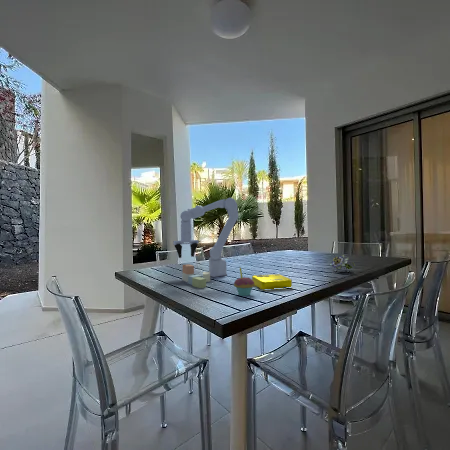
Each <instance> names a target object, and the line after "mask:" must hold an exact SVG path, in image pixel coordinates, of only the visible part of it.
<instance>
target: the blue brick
mask: <svg viewBox="0 0 450 450" xmlns="http://www.w3.org/2000/svg"><path fill="white" fill-rule="evenodd" d="M195 277H201V278H203V274H194V275H192V276H188V282H187V283H188V285H190V286H192V278H195Z"/></svg>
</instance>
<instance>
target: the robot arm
mask: <svg viewBox="0 0 450 450" xmlns="http://www.w3.org/2000/svg"><path fill="white" fill-rule="evenodd" d="M218 208H220V209H225V210H226V211H227V215H228V219H227V220H226V222H225V224H224V226H223V228H222V230H221V232H220V233H219V236H218V237H217V240H216V242H215V243H214V245H213V246H212V247H210V250H209V256H210V257H209V258H208V272H210V277H213V278H215V277H216V278H217V277H222V276H228V274H227V272H228V271H227V261H226V260H225V259H224V258H222V251H223V249H224V246H225V244H226V243H227V240H228V238H229V236H230V234H231V232H232V230H233V228H234V226H235V224H236V222H237V220H238V218H239V211H238V210H239V209H238V203H237V201H236V200H235V199H234V198H232V197H228V198H223V199H219V200H217V201H214V202H212V203H209V204H207V205H204V206H202V205H195V207H192V208H187V210H184V211H181V213H180V215H179V216H180V217H179V218H180V219H181V220H180V240H174V241H173V243H172V245H174V248H175V250H176V252H177V255H178V258H179V259H181V258H182V249H183V245H189V247H190V256H191V257H192V258H194V257H195V254H196V250H197V248H198V246H199V240H198V239H192V224H191V223H192V222H191V221H192V220H194V219H197V218H200V217H203V216H204V215H205V213H207V212H209V211H211V210H214V209H218Z"/></svg>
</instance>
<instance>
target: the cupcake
mask: <svg viewBox="0 0 450 450" xmlns="http://www.w3.org/2000/svg"><path fill="white" fill-rule="evenodd" d="M239 274H240V277H239V278H237V279H235V281H234V282H233V285H234V287H235V288H236V291H237V293H238V295H239V296H240V297H241V296H242V297H246V296H250V295H251V292H252V289H253V288H254V287H256V286H255V284H254V281H253V280H252V278H250V277H245V276H244V277H243V272H242V267H239Z"/></svg>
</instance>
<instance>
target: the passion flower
mask: <svg viewBox="0 0 450 450" xmlns="http://www.w3.org/2000/svg"><path fill="white" fill-rule="evenodd" d="M348 260H349V257H346V258H345V254H342V255H341V256H334V257H333V260H332V261H331V263H329V266H332V267H333V268H336V269H341V270H342V267H346V270H347V268H348V269H350V270H351V268H353V267H354V266H356V265H355V263H354V262H350V263H348ZM351 264H352V265H353V267H352V265H351Z"/></svg>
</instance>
